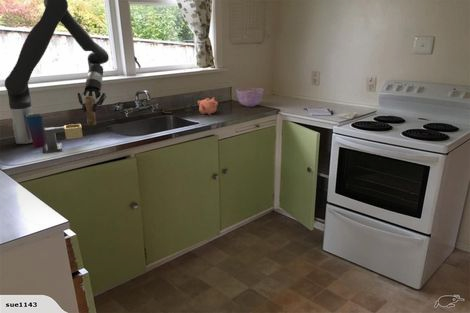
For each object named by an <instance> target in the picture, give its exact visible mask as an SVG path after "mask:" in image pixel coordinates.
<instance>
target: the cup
mask: <svg viewBox="0 0 470 313" xmlns="http://www.w3.org/2000/svg"><path fill="white" fill-rule="evenodd" d="M26 118H27V122H28V126H29V130H30V134H31V138H32V145H33V147H34V148H41V147H42V148H43V145H46V137H45V131H44V129H45V127H44V119H43V114H42V113H33V114H30V115H27V116H26Z"/></svg>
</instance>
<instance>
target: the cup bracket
mask: <svg viewBox="0 0 470 313" xmlns="http://www.w3.org/2000/svg"><path fill="white" fill-rule="evenodd" d="M56 133H58V134H59V133H64V134H65V140H72V139H74V140H75V139H81V138H83V137H84V136H83V129H82V124H81V123H76V124H74V123H73V124H67V125H63V126H56V127H54V126H51V127H44V137H45V145H43V147H42V154H49V153H50V154H51V153H59V152H63V143H62V142H61V143H60V142H59V143H58V142H57V136H56Z"/></svg>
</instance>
